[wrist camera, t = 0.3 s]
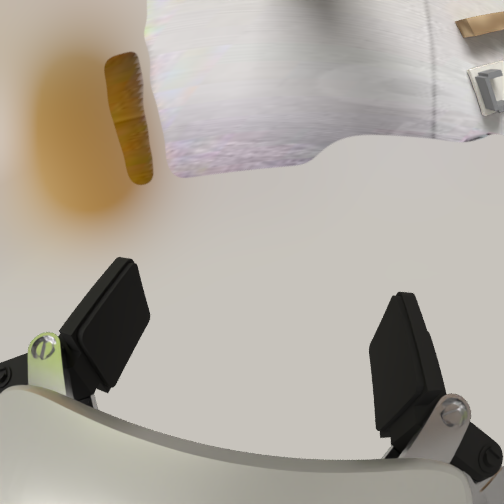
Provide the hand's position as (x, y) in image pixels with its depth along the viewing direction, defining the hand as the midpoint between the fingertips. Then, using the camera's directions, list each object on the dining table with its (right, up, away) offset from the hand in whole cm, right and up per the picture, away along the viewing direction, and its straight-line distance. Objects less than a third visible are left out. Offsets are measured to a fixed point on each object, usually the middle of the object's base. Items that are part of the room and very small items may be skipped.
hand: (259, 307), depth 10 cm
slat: (+39, +40, +11) cm, 56 cm away
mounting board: (+44, +31, +15) cm, 56 cm away
